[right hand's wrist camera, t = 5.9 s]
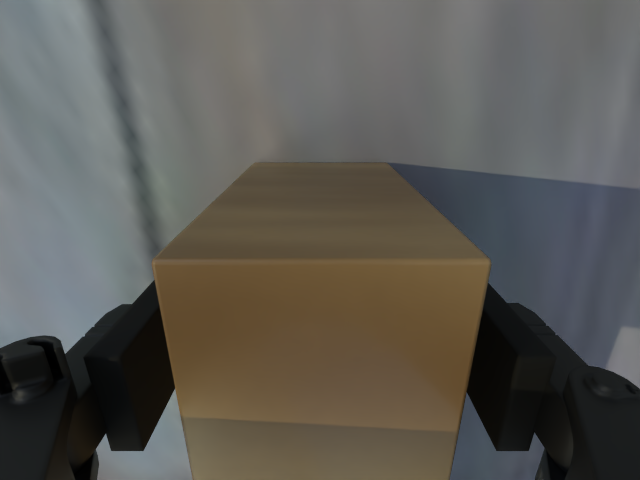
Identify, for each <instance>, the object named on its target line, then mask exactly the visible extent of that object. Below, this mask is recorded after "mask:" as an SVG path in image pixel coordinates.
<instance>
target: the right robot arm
mask: <svg viewBox="0 0 640 480" xmlns="http://www.w3.org/2000/svg"><path fill="white" fill-rule="evenodd" d="M174 389H175V384H174V379H173V373H172V368H171V363H170V358H169V352H168V347H167V342H166V337H165V332H164V326H163V321H162V316H161V311H160V305H159V300H158V295H157V290H156V285H155V280H154V281H153V282H152V283H151V284H150V285H149V286H148V288H147V289H146V290H145V291H144V292H143V293H142V294H141V295H140V296H139V297H138V298H137V299H136V301H135V302H134V303H133V304H122V305H120V306H118V307H117V308H115V309H113V310H111V311H110V312H108V313H106V314H105V315H104V316H103V317H102V318H101V319H100V320H99V321H98V322H97V323H96V324H95V327H92V328H91V329H90V330H89V331H88V332H87V333H86V334H85V337H82V338H81V339H80V340H79V341H78V342H77V343H76V344H75V345H74V346H73V347H72V348H71V349H70V350H69V351H68V352H67V353H66V354H65V353H64V350H63V347H62V344H61V341H60V340H59V339H57V338H56V337H53V336H36V337H30V338H26V339H23V340H19V341H16V342H13V343H11V344H9V345H7V346H4V347H2V348H0V480H97V475H98V467H99V461H98V455H97V452H96V448H97V446H98V445H99V443H100V442H101V440H102V439H103V437H104V435H105V434H106V435H107V438H108V441H109V445H110V448H111V451H144V449H145V447H146V445H147V443H148V441H149V439H150V437H151V435H152V433H153V431H154V429H155V427H156V425H157V423H158V421H159V419H160V417H161V415H162V413H163V411H164V409H165V407H166V405H167V403H168V401H169V399H170V397H171V395H172V393H173V391H174ZM467 393H468V395H469V397H470V399H471V401H472V403H473V405H474V407H475V409H476V411H477V413H478V415H479V417H480V419H481V421H482V423H483V425H484V427H485V429H486V431H487V433H488V435H489V437H490V439H491V441H492V443H493V445H494V447H495V449H496V451H529V448H530V445H531V442H532V438H533V435H534V432H535V433H536V435H537V437H538V438H539V440H540V441H541V443H542V444H543V446H544V447H545V449H544V452H543V455H542V458H541V461H540V465H539V468H538V471H537V474H536V477H535V480H640V389H639V388H638V387H637V386H635V385H634V384H633V383H631V382H630V381H629V380H627V379H625V378H624V377H622V376H620V375H618V374H616V373H614V372H611V371H608V370H605V369H602V368H599V367H593V366H588V365H587V364H586V363H585V362H584V361H583V360H582V359H581V358H580V357H579V356H578V355H577V354H576V353H575V352H574V351H573V350H572V349H571V348H570V347H569V346H568V345H567V344H566V343H565V342H564V341H563V340H562V339H561V338H560V337H559V336H558V335H555V332H554V331H553V330H552V329H551V328H550V327H549V326H546V323H545V322H544V321H543V320H542V319H541V318H540V317H538V316H537V315H536V314H535V313H534V312H533V311H531V310H529V309H527V308H526V307H524V306H522V305H521V304H519V303H506V302H505V301H504V299H503V298H502V297H501V296H500V295H499V294H498V293H497V292H496V291H495V290H494V289H493V288H492V286H491V285H490V284H489V283H488V285H487V290H486V295H485V300H484V305H483V310H482V315H481V321H480V326H479V331H478V336H477V341H476V346H475V351H474V356H473V362H472V367H471V372H470V377H469V382H468V387H467Z"/></svg>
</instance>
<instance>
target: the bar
mask: <svg viewBox="0 0 640 480" xmlns="http://www.w3.org/2000/svg"><path fill="white" fill-rule="evenodd" d="M152 269H153V274H154V279H155V285H156V290H157V295H158V300H159V305H160V311H161V316H162V321H163V326H164V332H165V337H166V342H167V347H168V352H169V358H170V363H171V368H172V373H173V379H174V384H175V389H176V394H177V399H178V405H179V410H180V415H181V420H182V426H183V431H184V436H185V441H186V446H187V452H188V457H189V462H190V467H191V472H192V478H193V480H449V479H450V474H451V469H452V464H453V459H454V454H455V449H456V443H457V438H458V433H459V428H460V423H461V418H462V413H463V408H464V402H465V397H466V392H467V387H468V382H469V377H470V372H471V367H472V362H473V356H474V351H475V346H476V341H477V336H478V331H479V326H480V321H481V315H482V310H483V305H484V300H485V295H486V290H487V285H488V280H489V275H490V269H491V260H490V258H489V257H488V256H486V255H485V254H484V253H483V252H482V251H481V250H480V249H479V248H478V247H477V246H476V245H475V244H474V243H472V242H471V241H470V240H469V239H468V238H467V237H466V236H465V235H464V234H463V233H462V232H461V231H460V230H459V229H457V228H456V227H455V226H454V225H453V224H452V223H451V222H450V221H449V220H448V219H447V218H446V217H445V216H444V215H442V214H441V213H440V212H439V211H438V210H437V209H436V208H435V207H434V206H433V205H432V204H431V203H430V202H429V201H427V200H426V199H425V198H424V197H423V196H422V195H421V194H420V193H419V192H418V191H417V190H416V189H415V188H414V187H412V186H411V185H410V184H409V183H408V182H407V181H406V180H405V179H404V178H403V177H402V176H401V175H400V174H399V173H397V172H396V171H395V170H394V169H393V168H392V167H391V166H390V165H389V164H388V163H254V164H253V165H251V166H250V167H249V168H248V169H247V170H246V171H245V172H244V173H243V174H242V175H241V176H240V177H239V178H238V179H237V180H236V181H235V182H234V183H232V184H231V185H230V186H229V187H228V188H227V189H226V190H225V191H224V192H223V193H222V194H221V195H220V196H219V197H218V198H217V199H216V200H215V201H213V202H212V203H211V204H210V205H209V206H208V207H207V208H206V209H205V210H204V211H203V212H202V213H201V214H200V215H199V216H198V217H197V218H196V219H194V220H193V221H192V222H191V223H190V224H189V225H188V226H187V227H186V228H185V229H184V230H183V231H182V232H181V233H180V234H179V235H178V236H177V237H175V238H174V239H173V240H172V241H171V242H170V243H169V244H168V245H167V246H166V247H165V248H164V249H163V250H162V251H161V252H160V253H159V254H158V255H156V256H155V257H154V258H153V260H152Z"/></svg>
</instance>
